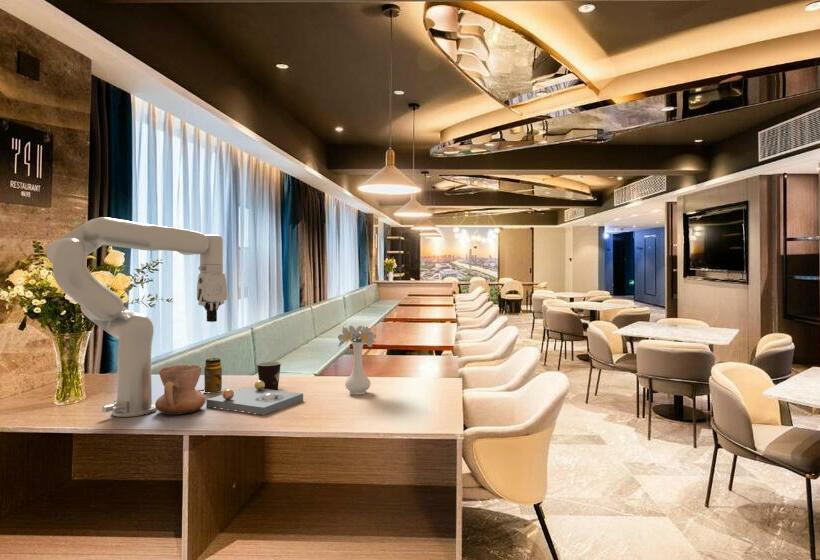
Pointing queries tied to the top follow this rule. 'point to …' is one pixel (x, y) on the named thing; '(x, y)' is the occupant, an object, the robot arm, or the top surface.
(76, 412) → the top surface
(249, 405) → the grey flat board
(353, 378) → the flower vase
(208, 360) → the condiment
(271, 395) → the steel ball
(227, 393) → the copper ball
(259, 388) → the brass ball
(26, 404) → the top surface
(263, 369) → the coffee mug
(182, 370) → the ceramic jug
